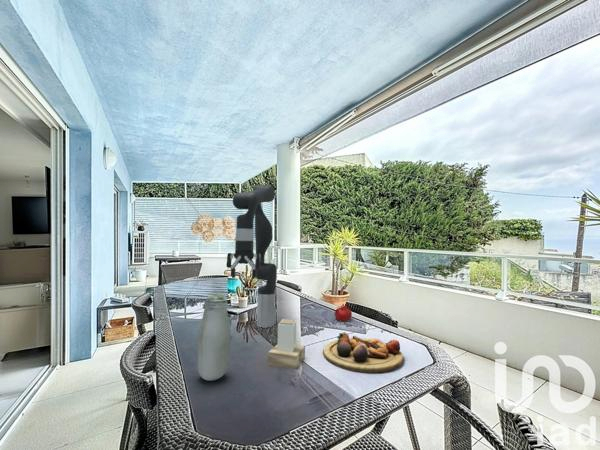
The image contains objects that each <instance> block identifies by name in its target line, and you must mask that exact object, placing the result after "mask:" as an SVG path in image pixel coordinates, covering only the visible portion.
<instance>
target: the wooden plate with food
mask: <svg viewBox="0 0 600 450" xmlns="http://www.w3.org/2000/svg"><path fill="white" fill-rule="evenodd" d="M322 350H323V351H322V354H323V357H324V359H325V360H326V361H327V362H329V363H330V364H332V365H333V366H335V367H338V368H341V369H344V370H347V371H352V372H359V373H370V374H372V373H373V374H374V373H375V374H376V373H384V372H389V371H392V370H395V369H397V368H399V367H400V366H401V365H402V363H404V355H403V352H401V345H400V342H399V340H397V339H392V340H389V341H388V342H383V341H382V340H381V339H378V338H360V337H358V336H355V335H353V336H352V337H349V335H348V334H347V332H340V333H339V334H338V336H337V337H336V339H335V340H333V341H330V342H329V343H327V344H326V345H325V346H324V347H323V349H322Z"/></svg>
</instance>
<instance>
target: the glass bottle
mask: <svg viewBox="0 0 600 450" xmlns="http://www.w3.org/2000/svg"><path fill="white" fill-rule="evenodd" d="M229 318H230V317H229V315H228V299H227V297H226V295H224V294H222V293H212V294H210V295H209V296H207V297H206V298H205V301H204V309H203V314H202V318H201V321H200V323H199V328H198V336H197V337H198V338H197V371H198V374H199V376H200V377H201V379H202V380H205V381H208V382H209V381H210V382H211V381H216V380H218V379H221V378H222V377H223V376H224V375H225V374H226V372H227V370H228V368H229V364H230V351H231V350H230V348H231V347H230V346H231V336H232V335H231V327H230V323H229Z"/></svg>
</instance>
